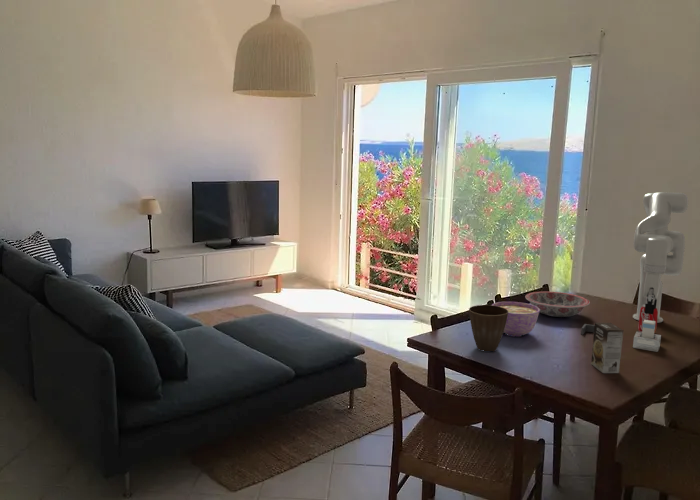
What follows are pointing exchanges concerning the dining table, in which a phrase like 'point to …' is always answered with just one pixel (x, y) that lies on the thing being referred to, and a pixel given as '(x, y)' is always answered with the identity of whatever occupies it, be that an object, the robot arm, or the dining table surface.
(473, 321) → the plant pot
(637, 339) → the port
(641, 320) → the soda can
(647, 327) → the plug
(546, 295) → the ceramic bowl
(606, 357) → the coffee box
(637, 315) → the robot arm
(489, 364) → the dining table surface
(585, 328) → the dark grey bracket
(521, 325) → the bowl of food
